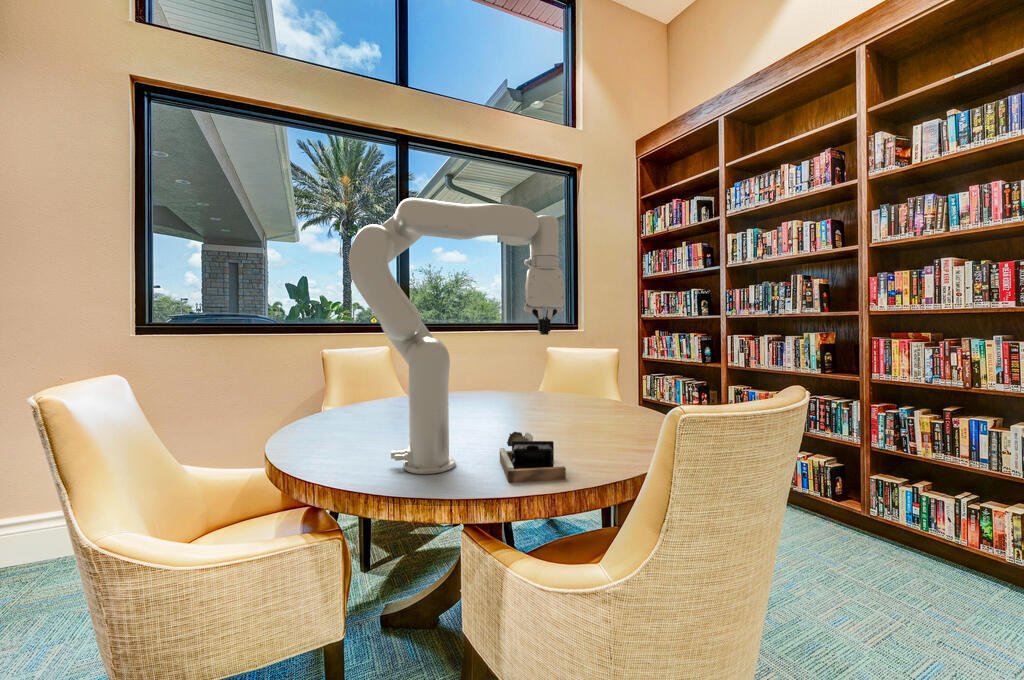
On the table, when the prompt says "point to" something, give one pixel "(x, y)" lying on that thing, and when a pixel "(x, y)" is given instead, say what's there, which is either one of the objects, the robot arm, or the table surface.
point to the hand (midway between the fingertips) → (544, 334)
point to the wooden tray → (528, 470)
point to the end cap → (532, 454)
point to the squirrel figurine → (519, 437)
